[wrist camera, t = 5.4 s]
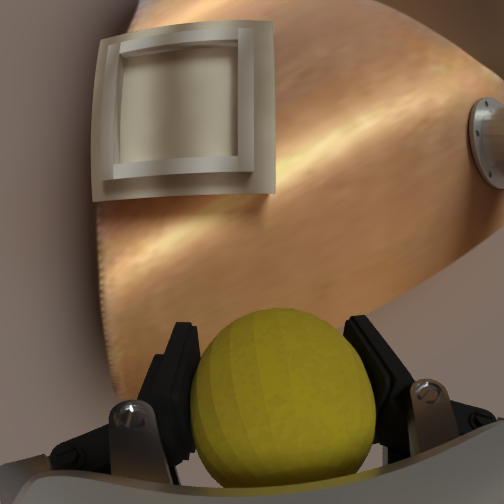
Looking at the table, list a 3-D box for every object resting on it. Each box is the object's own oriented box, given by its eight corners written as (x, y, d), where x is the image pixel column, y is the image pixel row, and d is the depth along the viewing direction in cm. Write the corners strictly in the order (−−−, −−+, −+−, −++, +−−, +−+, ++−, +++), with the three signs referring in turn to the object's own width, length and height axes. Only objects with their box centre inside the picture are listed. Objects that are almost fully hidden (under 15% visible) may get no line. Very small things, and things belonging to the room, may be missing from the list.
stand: (269, 35, 21) (275, 13, 17) (271, 191, 25) (277, 195, 21) (112, 50, 20) (94, 34, 16) (106, 198, 25) (84, 204, 20)
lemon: (355, 326, 12) (443, 468, 4) (268, 396, 13) (286, 542, 5) (269, 245, 11) (330, 415, 3) (178, 335, 12) (127, 505, 4)
